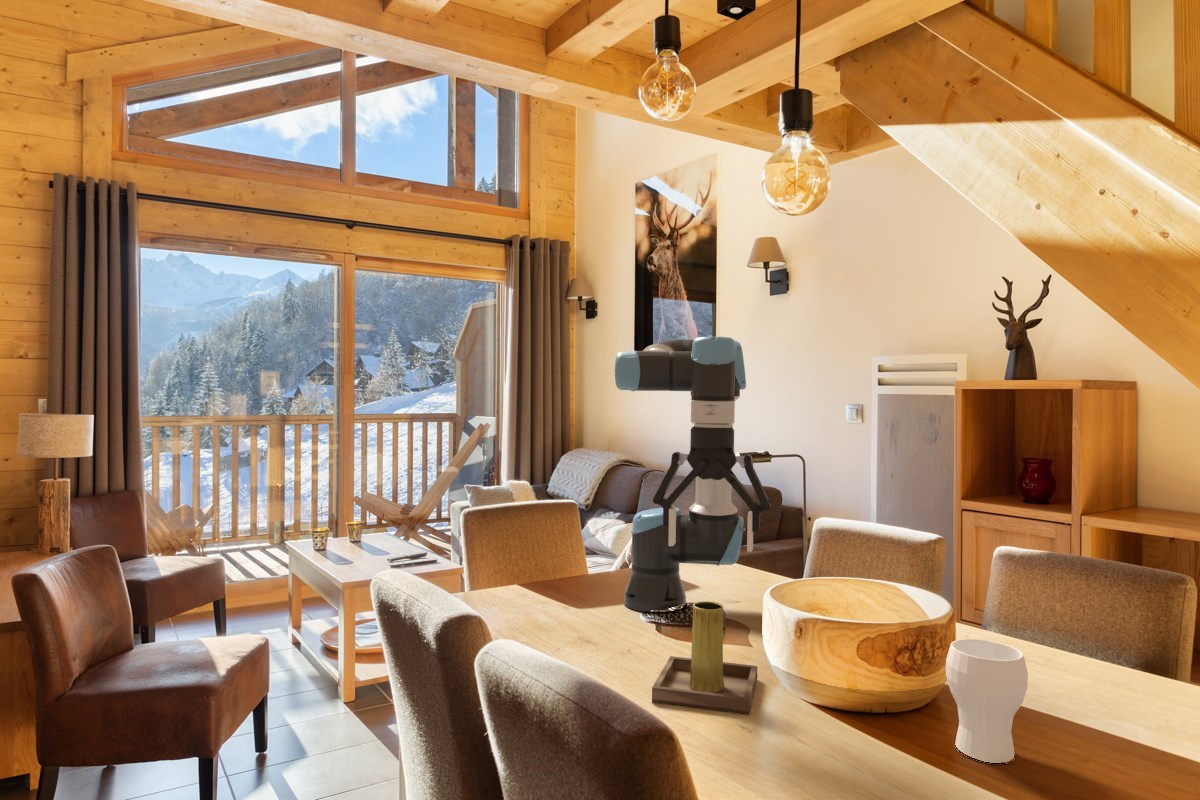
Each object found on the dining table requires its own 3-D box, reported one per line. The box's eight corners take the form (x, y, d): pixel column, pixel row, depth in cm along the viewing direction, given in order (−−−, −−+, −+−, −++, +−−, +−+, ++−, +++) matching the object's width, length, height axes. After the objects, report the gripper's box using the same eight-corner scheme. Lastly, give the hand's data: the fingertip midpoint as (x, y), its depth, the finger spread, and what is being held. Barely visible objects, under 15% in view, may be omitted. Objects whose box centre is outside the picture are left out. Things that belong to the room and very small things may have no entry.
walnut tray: (670, 669, 142) (670, 656, 142) (757, 679, 137) (757, 665, 137) (651, 702, 127) (652, 687, 127) (749, 715, 122) (749, 699, 122)
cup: (930, 736, 115) (932, 637, 115) (997, 734, 116) (998, 637, 116) (970, 770, 105) (972, 662, 105) (1043, 768, 106) (1045, 661, 106)
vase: (727, 683, 134) (728, 602, 134) (721, 696, 128) (722, 612, 128) (693, 678, 136) (694, 599, 136) (685, 691, 130) (686, 608, 130)
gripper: (637, 424, 132) (635, 546, 132) (784, 428, 125) (782, 557, 125) (647, 423, 139) (645, 538, 139) (787, 426, 132) (785, 548, 132)
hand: (710, 547), depth 132 cm, fingers open, 13 cm apart
